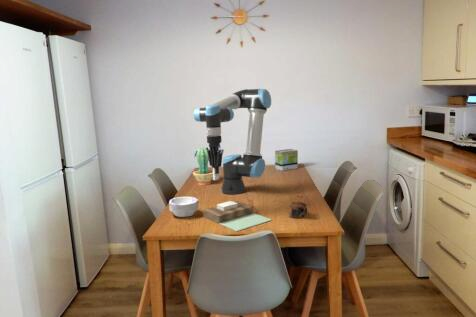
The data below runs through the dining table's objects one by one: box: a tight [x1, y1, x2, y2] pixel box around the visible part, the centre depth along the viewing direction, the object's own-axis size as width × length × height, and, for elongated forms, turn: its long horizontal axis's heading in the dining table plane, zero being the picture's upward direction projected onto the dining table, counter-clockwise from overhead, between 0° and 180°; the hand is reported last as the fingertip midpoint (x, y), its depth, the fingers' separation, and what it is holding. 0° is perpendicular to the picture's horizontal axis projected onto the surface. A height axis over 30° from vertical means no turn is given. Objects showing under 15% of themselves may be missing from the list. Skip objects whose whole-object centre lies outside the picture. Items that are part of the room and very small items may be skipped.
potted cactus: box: [192, 146, 213, 186], centre depth 272 cm, size 15×15×25 cm
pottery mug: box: [288, 201, 308, 219], centre depth 200 cm, size 12×10×8 cm
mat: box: [218, 212, 273, 232], centre depth 195 cm, size 22×14×1 cm, turn 127°
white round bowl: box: [168, 196, 199, 218], centre depth 210 cm, size 15×15×8 cm
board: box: [202, 200, 255, 225], centre depth 205 cm, size 22×14×4 cm, turn 127°
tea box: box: [274, 148, 299, 172], centre depth 309 cm, size 15×10×15 cm
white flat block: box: [216, 200, 238, 211], centre depth 206 cm, size 9×6×2 cm, turn 127°
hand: (216, 179), depth 210 cm, fingers closed
